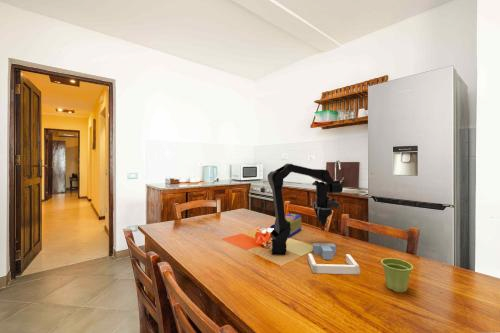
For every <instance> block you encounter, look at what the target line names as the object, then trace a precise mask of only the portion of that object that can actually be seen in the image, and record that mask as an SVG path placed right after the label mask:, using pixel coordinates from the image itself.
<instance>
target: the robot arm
mask: <svg viewBox="0 0 500 333" xmlns="http://www.w3.org/2000/svg"><path fill="white" fill-rule="evenodd" d="M291 173H295V174H298V175H304V176H308V177H310V178H312V179H314V180H315V181H314V182H312V183H311V185H312V186H315V195H314V197H315V201H314V202H313V203H312V208H313V210H314V213H315V215H316V217H317V220H318V223H320V224H321V227H322V228H325V226H326V224H327V218H328V217H329V216H331V215H332V214H333V210H332V208H333V209H335V210H338V209H339V207H340V205H341V204H340V202H339V201H336V198H333V197H332V198H330V197H329V195H328V194H342V193H343V189H344V188H343V185H342V183H341V180H340V179H336V180H333V178H332V176H331V175H330V171H329V170H327V169H323V168H321V169H320V168H319V169H318V168H309V167H304V166H301V165H297V164H293V163H285V164H284V165H282V166H281V167H279V168H277V169H275V170H272V171H270V172H268V174H267V181H268V185H269V186H270V188H271V190H272V192H271V193H272V199H273V206H274V214H275V215H274V216H275V220H274V224H275V225H274V224H273V225H274V230H272V231H271V232H270V234H269V236H270V238H271V255H276V256H277V255H278V256H280V255H281V256H285V255H286V253H287V242H288V238H289V237H288V236H289V235H290V231H291V228H290V222H289V221H287V220H286V219H285V215H286V213H285V206H284V205H285V204H284V198H283V187H284V179H285V178H286V177H288V176H289V175H290V174H291Z"/></svg>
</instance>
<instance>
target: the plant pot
mask: <svg viewBox="0 0 500 333" xmlns="http://www.w3.org/2000/svg"><path fill="white" fill-rule="evenodd" d="M380 262H381V265H382V267H383V272H384V277H385V284H386V288H388V289H389V290H392V291H394V292H396V293H404V292H405V293H406V292H407V291H408V285H409V279H410V274H411V272H412V270H413V269H414V266H413V265H412V264H411V263H410V262H408V261H406V260H403V259H400V258H394V257H393V258H392V257H388V258H383V259H381V261H380Z"/></svg>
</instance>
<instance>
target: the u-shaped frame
mask: <svg viewBox="0 0 500 333" xmlns="http://www.w3.org/2000/svg"><path fill="white" fill-rule="evenodd" d="M307 258H308V259H307V261H308V263H309V266H310V268H311V271H312V273H313V274H330V275H333V274H335V275H336V274H337V275H361V266H360V265H359V264H358V263H357V262H356V260H355V259H354V258H353V257H352V255H351V254H345V261H346V263H347V264H332V263H331V264H327V263H326V264H325V263H320V264H319V263H316V260H315V258H314V255H313V253H308V254H307Z"/></svg>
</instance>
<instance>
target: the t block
mask: <svg viewBox="0 0 500 333" xmlns="http://www.w3.org/2000/svg"><path fill="white" fill-rule="evenodd" d="M312 252H313V255H320V256H321V258H322V259H323V260H327V261H329V260H331V261H332V260H333V259H334V257H333V256H335V255H337V246H336V244H335V243H329V242H327V243H323V242H322V243H318V242H317V243H316V242H313V243H312Z"/></svg>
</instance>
